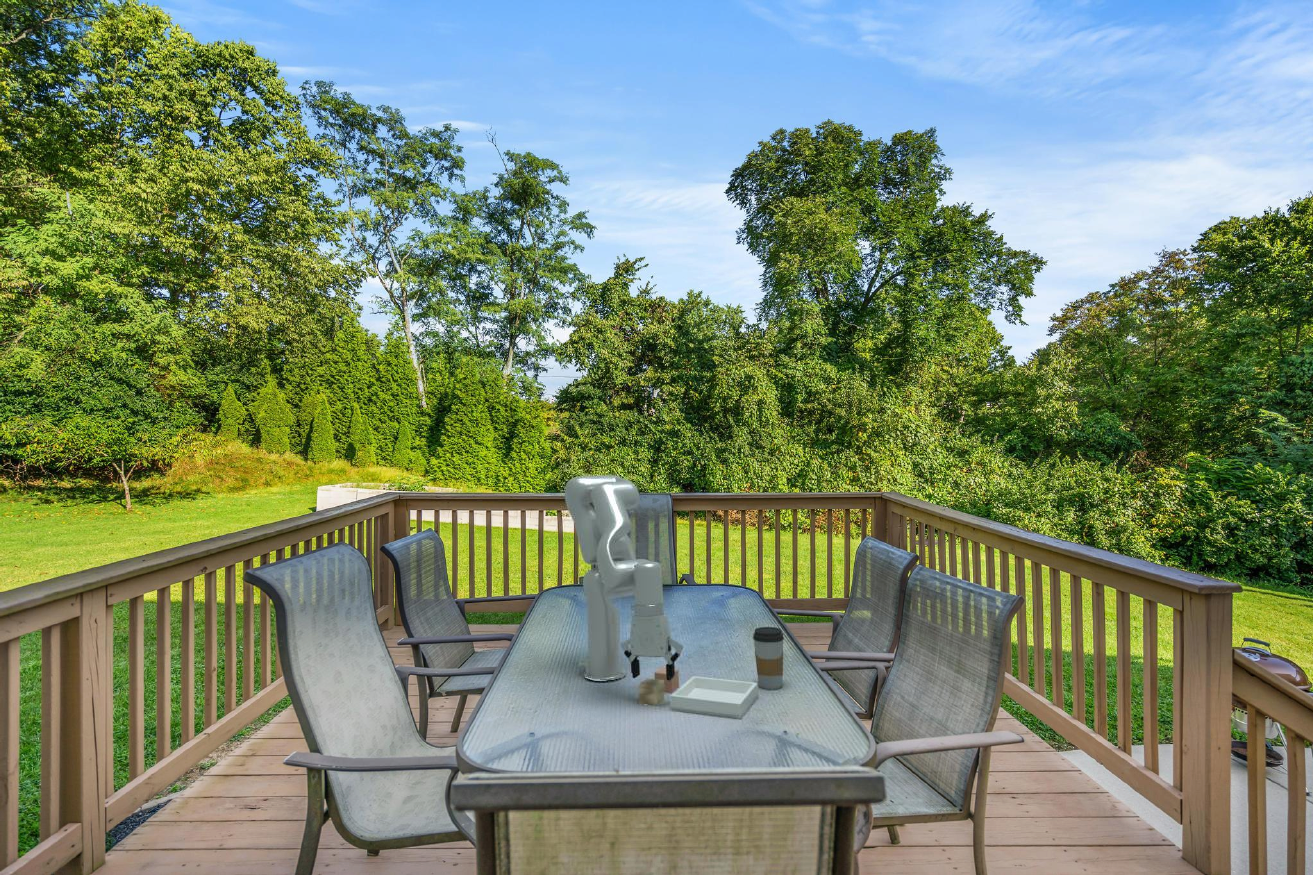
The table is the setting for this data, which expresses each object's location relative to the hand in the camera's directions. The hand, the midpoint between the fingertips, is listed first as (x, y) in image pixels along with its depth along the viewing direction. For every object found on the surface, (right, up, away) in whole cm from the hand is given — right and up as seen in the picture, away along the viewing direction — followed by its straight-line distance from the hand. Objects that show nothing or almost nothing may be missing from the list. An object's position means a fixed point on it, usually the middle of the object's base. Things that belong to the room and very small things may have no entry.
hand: (653, 677), depth 161 cm
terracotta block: (+4, -7, +10) cm, 12 cm away
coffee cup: (+32, -6, +9) cm, 34 cm away
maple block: (0, -6, 0) cm, 6 cm away
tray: (+16, -6, -2) cm, 17 cm away
